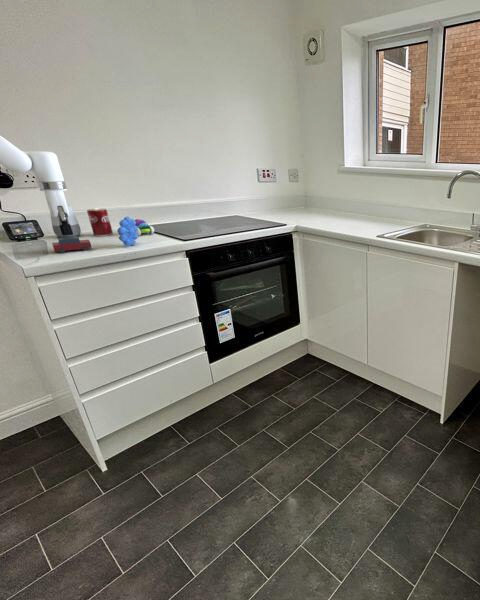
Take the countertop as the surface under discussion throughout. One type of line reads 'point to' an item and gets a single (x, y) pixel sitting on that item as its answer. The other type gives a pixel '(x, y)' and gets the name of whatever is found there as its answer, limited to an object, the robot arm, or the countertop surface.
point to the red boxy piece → (71, 244)
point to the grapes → (128, 231)
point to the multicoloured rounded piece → (143, 227)
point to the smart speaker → (72, 222)
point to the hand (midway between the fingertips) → (67, 234)
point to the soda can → (100, 222)
